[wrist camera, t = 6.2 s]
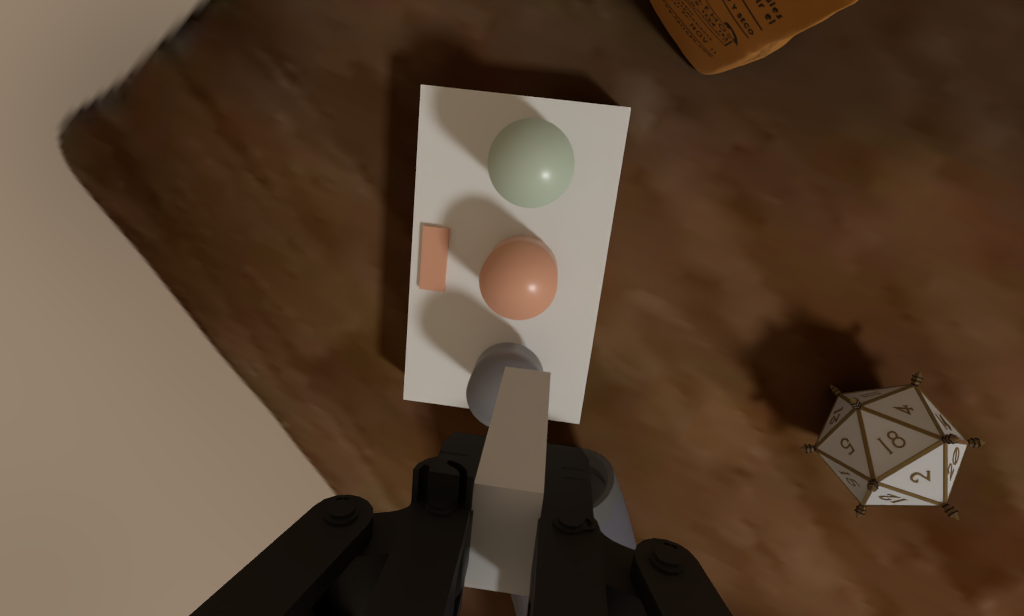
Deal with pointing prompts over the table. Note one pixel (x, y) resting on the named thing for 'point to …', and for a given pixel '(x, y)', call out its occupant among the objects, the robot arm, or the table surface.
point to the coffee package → (738, 27)
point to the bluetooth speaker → (600, 512)
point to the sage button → (531, 163)
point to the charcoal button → (495, 376)
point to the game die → (892, 447)
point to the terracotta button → (519, 278)
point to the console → (489, 220)
